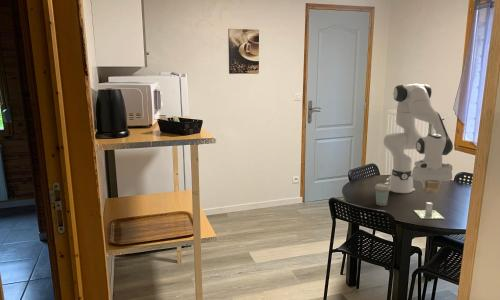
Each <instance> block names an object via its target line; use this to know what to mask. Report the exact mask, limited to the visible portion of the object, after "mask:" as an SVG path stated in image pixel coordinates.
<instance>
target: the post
mask: <svg viewBox="0 0 500 300" xmlns="http://www.w3.org/2000/svg"><path fill="white" fill-rule="evenodd" d="M433 205H434V203H433V202H430V201H426V202H425V209H413V212H414V214H416V215H417V216H418V217H419V219H421V220H445V217H444V216H442V215H441V214H440V213H439V212H438V211H437V210H433Z"/></svg>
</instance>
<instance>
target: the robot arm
mask: <svg viewBox="0 0 500 300" xmlns="http://www.w3.org/2000/svg"><path fill="white" fill-rule="evenodd" d="M392 94H393V99H394V101H396V102H397V107H396V108H397V109H396V120H395V122H396V125H397V126H399V127H400V128H401V129H403V132H393V133H388V134H386V135H385V136H384V137H383V145H384V147H385V148H386V149H387V150H388V151H389V152H390V153H391V155H392V161H393V164H392V165H393V166H392V170H391V175H390V176H388V178H386V181H385V182H384V184H388V185H389V187H390V190H389V192H393V193H397V194H410V193H412V192H415V191H416V189H415V188H414V181H415V182H416V181H419V182H421V184H422V189H423V190H424V189H425V188H427V185H425V184H424V183H425V181H438V190H439V189H440V186H441V185H442V182H445V181H446V182H451V181H452V180H453V168H454V167H453V165H452V164H451V163H443V156H447V155H449V154H450V153H451V152H452V150H453V147H454V145H453V141H452V140H451V138H450V136H449V134H448V132H447V129H446V126H445V124H444V121H443V119H442V117H441V115H440V113H439V112H438V111H437V110H435V109H434V108H433V106H432V103H431V96H432V88H431V86H430V85H429V84H425V83H424V84H423V83H422V84H420V83H410V84H399V85H396V86H395V87H394V88H393V92H392ZM416 119H417V120H419V121H422V122H425V123H427V124H430V125H432V126H433V128H434V131H435V132H431V133H430V132H429V133H427V135H426V136H423V134H422V133H421V132H420V131H419V130H418V129H417V126H416ZM404 150H405V151H406V150H416V152H418V153H419V154H421V155H424V158H423V159H420V160H417V161H415V162H414V167H413V169H412V158H411V156H410V155H408V154H405V152H404Z"/></svg>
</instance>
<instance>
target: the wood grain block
mask: <svg viewBox="0 0 500 300" xmlns="http://www.w3.org/2000/svg"><path fill="white" fill-rule="evenodd" d="M424 184H425V185H427V188H425V189H424V188H423V191H424V192H425V193H426V194H434V195H435V194H436V195H437V194H438V193H439V189H438V181H425V183H424Z"/></svg>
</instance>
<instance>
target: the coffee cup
mask: <svg viewBox="0 0 500 300" xmlns="http://www.w3.org/2000/svg"><path fill="white" fill-rule="evenodd" d="M374 190H375V203H376V205H377V206H380V207H384V206H387V205H388V199H389V193H390V191H389V190H390V187H389V185H388V184H385V183H383V182H382V183H376V184H375V185H374Z"/></svg>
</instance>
